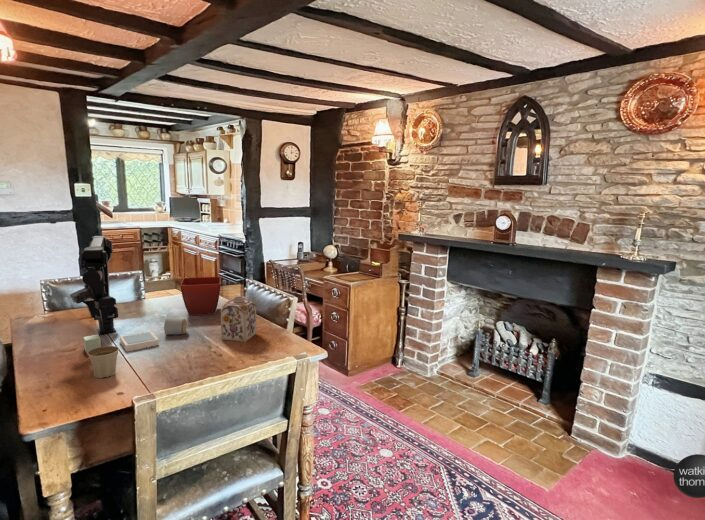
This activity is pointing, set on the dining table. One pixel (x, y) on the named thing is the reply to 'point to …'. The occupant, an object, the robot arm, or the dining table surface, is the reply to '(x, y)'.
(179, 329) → the ceramic mug
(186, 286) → the plant pot
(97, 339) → the cube
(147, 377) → the dining table surface
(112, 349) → the flower pot
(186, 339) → the dining table surface
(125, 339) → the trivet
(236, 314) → the decorative jar
